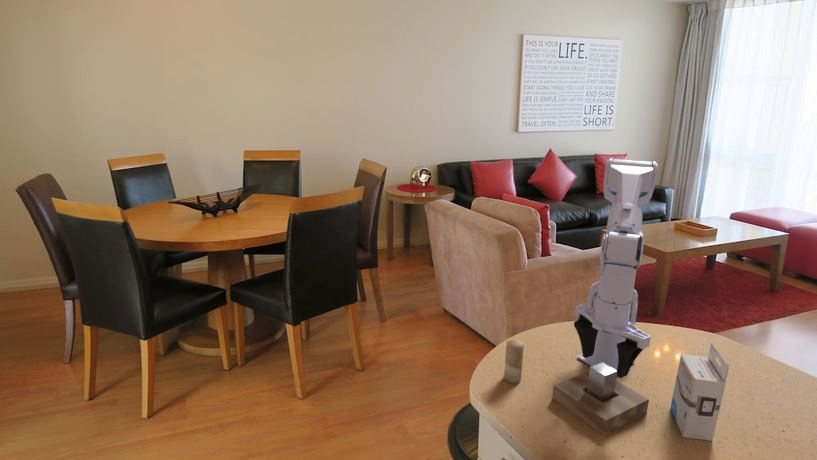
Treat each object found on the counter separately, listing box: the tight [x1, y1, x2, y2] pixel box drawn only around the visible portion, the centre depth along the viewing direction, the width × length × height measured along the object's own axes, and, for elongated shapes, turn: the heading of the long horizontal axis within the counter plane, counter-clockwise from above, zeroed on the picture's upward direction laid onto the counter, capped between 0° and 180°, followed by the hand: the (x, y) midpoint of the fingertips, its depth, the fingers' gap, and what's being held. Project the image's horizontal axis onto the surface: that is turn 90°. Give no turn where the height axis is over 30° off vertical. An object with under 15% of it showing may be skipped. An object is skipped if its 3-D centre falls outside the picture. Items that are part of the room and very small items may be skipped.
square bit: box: [587, 362, 617, 403], centre depth 97 cm, size 3×3×8 cm
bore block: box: [551, 370, 650, 436], centre depth 97 cm, size 12×12×3 cm
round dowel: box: [503, 339, 525, 385], centre depth 105 cm, size 3×3×8 cm
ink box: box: [670, 342, 730, 442], centre depth 91 cm, size 9×5×15 cm, turn 168°
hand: (604, 365), depth 95 cm, fingers open, 7 cm apart
